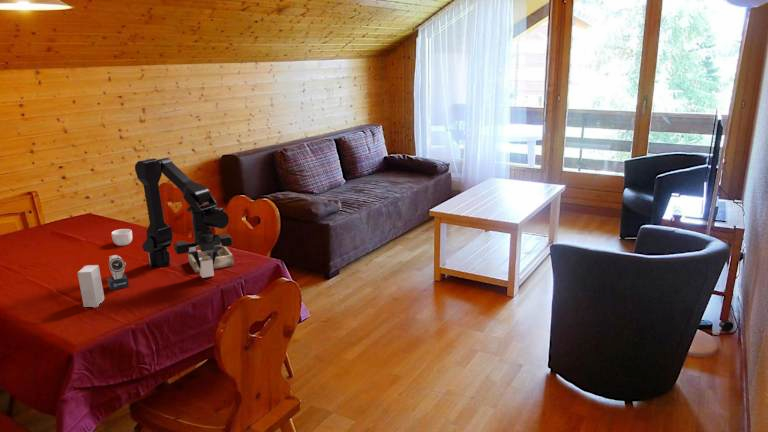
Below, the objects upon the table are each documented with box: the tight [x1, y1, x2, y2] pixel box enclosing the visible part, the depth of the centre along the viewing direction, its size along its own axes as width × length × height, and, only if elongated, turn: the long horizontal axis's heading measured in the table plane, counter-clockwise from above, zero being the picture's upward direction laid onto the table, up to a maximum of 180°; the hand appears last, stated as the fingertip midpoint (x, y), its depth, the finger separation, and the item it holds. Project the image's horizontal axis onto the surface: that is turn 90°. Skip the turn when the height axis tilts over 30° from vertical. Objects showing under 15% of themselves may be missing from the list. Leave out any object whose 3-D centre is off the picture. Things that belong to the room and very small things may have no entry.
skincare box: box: [77, 264, 105, 308], centre depth 176 cm, size 6×4×12 cm
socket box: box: [187, 245, 235, 273], centre depth 210 cm, size 14×12×4 cm
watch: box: [106, 254, 130, 291], centre depth 189 cm, size 6×8×11 cm
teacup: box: [111, 228, 133, 247], centre depth 234 cm, size 10×8×5 cm
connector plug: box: [199, 254, 215, 279], centre depth 197 cm, size 4×4×8 cm
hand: (206, 266), depth 198 cm, fingers closed on connector plug, 4 cm apart
